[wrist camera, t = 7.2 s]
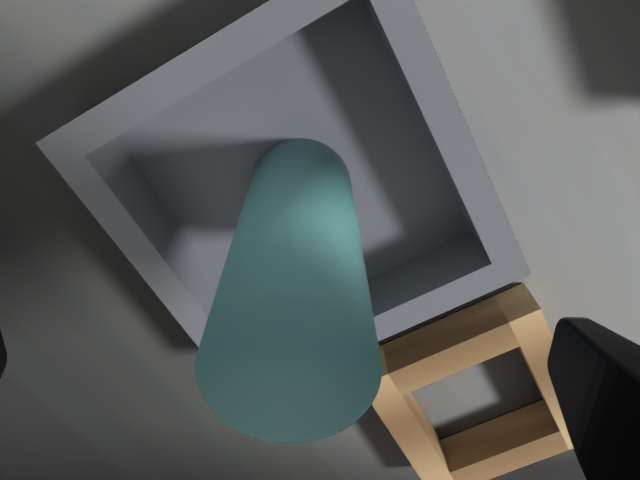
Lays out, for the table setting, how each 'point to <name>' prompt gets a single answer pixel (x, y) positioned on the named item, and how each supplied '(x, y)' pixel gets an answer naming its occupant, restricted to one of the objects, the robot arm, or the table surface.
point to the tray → (289, 123)
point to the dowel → (292, 305)
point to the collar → (461, 353)
